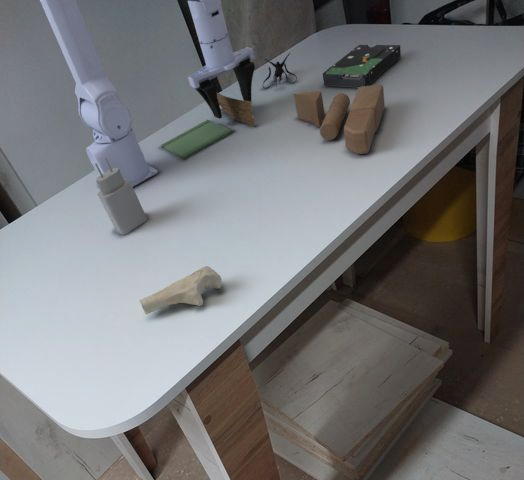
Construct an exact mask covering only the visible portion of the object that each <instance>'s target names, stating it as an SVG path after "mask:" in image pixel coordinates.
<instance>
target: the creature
mask: <svg viewBox="0 0 524 480" xmlns="http://www.w3.org/2000/svg"><path fill="white" fill-rule="evenodd" d="M290 55H291V52H289V53H288V54H287V55H286V57H285V58H284V59H283V61H282V62H280V61H276V62H275V63H274V62H272V61H270V60H268V59H266V58H264V60H265V61H266V62H268V63H270V64H271V65H272V66H273V67H274V68H275V70H274V75H273V81H272V82H271V83H272V84H271V85H270V86H268V87H264V86H262V88H263V89H265V90H267V89H269V88H270V87H272V86H274V85H276V87H278V83H279V84H281V81H282V76H283V74H284V75H285V78H286V79H287V80H286V81H285V83H288V80H289V77H288V75H292V76H294V77H295V81H294V82H293V84H294V83H296V82H297V80H298V77H297V75H296V74H295V73H294V72H290V71H289V70H288V68H287V64H286V61H287V60H288V57H289V56H290ZM283 67H284V68H283ZM267 69H268V71H269V72H268V75H267V77H266V78H265V79H264V80H263V82H262V84H265V82H266V81H267V80H269V79H270V78H271V75H272V69H271V67H270V66H269V67H268V68H267ZM278 79H279V80H278ZM274 82H275V83H274ZM277 82H278V83H277ZM289 83H290V84H292V82H291V81H289Z"/></svg>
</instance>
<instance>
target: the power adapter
mask: <svg viewBox="0 0 524 480" xmlns="http://www.w3.org/2000/svg"><path fill="white" fill-rule="evenodd" d="M105 160H106V162H107V165H108V167H109V169H110V170H108V171H107V172H105V173H103V174H102V173H101V171H100V169H99V167H98V165H97V163H95V165H96V167H97V169H98V171H99V173H100V176H99V177H98V176H97V177H96V179H95V182H96V185H97V186H98V188H99V190H100V191H99V192H97V197H98V199H99V201H100V202H101V204H102V206H103V208H104V211H105V212H106V214H107V216H108V219H109V220H110V222H111V224H112V226H113V228H114V230H115V231H116V233H118V234H120V235H122V236H125V235H128V234H129V233H131V232H132V231H133V230H135V229H137V227H139V226H141V225H142V224H143V223H145V222H146V221H147V220H148V217H147V215H146V212H145V211H144V208H143V206H142V204H141V202H140V199H139V198H138V195H137V193H136V191H135V189H134V187H132V184H131V182H130V181H129V180H127V179H124V178H123V177H122V174H121V172H120V170H119V168H113V169H111V166H110V164H109V163H108V161H107V158H106V157H105Z"/></svg>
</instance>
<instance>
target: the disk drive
mask: <svg viewBox="0 0 524 480" xmlns="http://www.w3.org/2000/svg"><path fill="white" fill-rule="evenodd" d="M401 56H402V54H401V44H376V45H373V46H369V45H368V44H358V45H357V46H356V47H353V49H352V50H351V51H349V52H348V53H346V54H345V55H344V56H343V57H342V58H340V59H339V60H338V61H337V62H335V63H334V64H333V65H331V66H330V67H329V68H327V69H326V70H325V71H324V72H323V73H322V81H323V85H324V86H328V87H342V88H357V89H358V88H359V87H363V86H370V84H372V82H374V81H375V80H376V79H377V78H378V77H380V76H381V75H382V74H383V73H384V72H385V71H386V70H387V69H389V68H390V67H391V66H392V65H393V64H394V63H396V62H397V61H398V60H399V59H400V58H401Z"/></svg>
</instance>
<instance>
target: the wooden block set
mask: <svg viewBox="0 0 524 480" xmlns="http://www.w3.org/2000/svg"><path fill="white" fill-rule="evenodd" d="M384 92H385V90H384V85H383V84H373V85H368V86H363V87H359V88H357V89H356V93H355V95H354V98H353V99H352V103H351V100H350V97H349V96H348V95H347V94H346V93H343V92H339V93H337V94H335V95H334V96H333V99H332V101H331V103H330V105H329V107H328V110H327V112H325V106H324V98H323V92H322V90H316V91H315V90H314V91H307V92H305V91H304V92H298V93H293V100H294V105H295V110H296V115H297V119H298V120H300V121H303V122H306V123H308V124H309V125H313V126H315V127H317V128H319V135H320V136H321V138H322V139H323V140H325V141H332V140H335V139H336V138H337V136H338V134H339V132H340V129H341V127H342V124H343V123H344V120H345V116H346V114H347V112H348V109H349V113H348V116H347V119H346V121H345V124H344V126H343V133H344V142H345V148H346V149H347V150H349V151H350V152H353V153H354V154H356V155H365V154H368V153H370V152H369V151H370V149H371V145H372V143H373V140H374V137H375V133H377V132H378V129H379V127H380V123H381V120H382V117H383V114H384V111H385V93H384ZM350 104H351V105H350ZM349 107H350V108H349ZM325 113H326V114H325Z"/></svg>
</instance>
